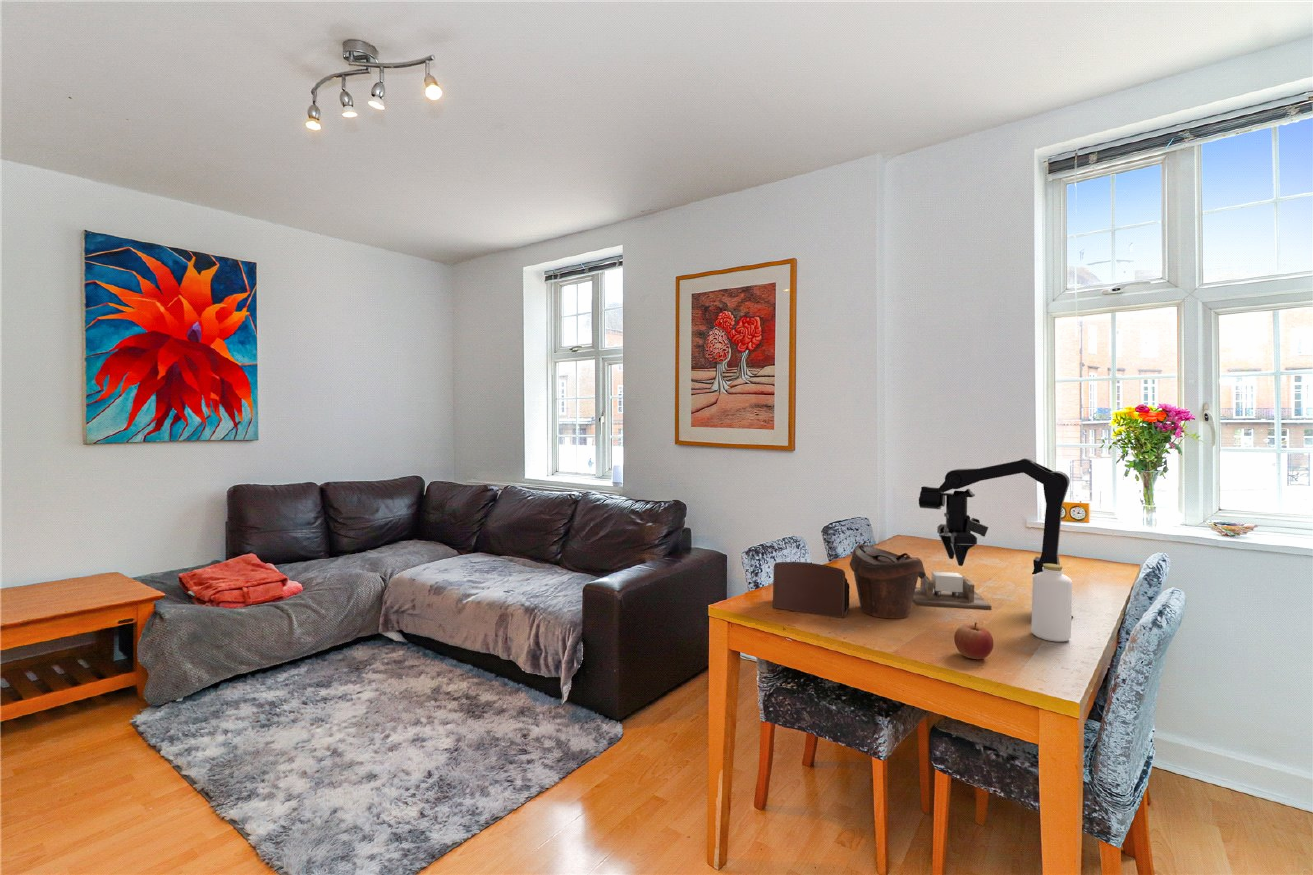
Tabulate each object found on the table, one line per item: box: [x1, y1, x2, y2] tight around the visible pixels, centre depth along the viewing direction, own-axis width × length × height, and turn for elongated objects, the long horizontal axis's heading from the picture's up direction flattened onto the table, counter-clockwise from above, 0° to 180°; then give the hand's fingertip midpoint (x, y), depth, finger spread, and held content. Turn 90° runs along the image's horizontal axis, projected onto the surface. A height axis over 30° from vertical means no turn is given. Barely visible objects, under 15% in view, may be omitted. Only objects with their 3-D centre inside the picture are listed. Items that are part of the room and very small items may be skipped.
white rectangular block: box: [931, 571, 963, 592], centre depth 184 cm, size 8×5×4 cm, turn 79°
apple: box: [953, 622, 994, 660], centre depth 139 cm, size 8×8×8 cm
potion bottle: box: [1031, 564, 1073, 643], centre depth 152 cm, size 8×8×18 cm
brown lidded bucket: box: [849, 543, 927, 620], centre depth 171 cm, size 18×20×18 cm
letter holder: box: [772, 561, 851, 619], centre depth 174 cm, size 10×20×14 cm, turn 65°
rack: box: [912, 575, 992, 610], centre depth 184 cm, size 16×20×6 cm
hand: (955, 562), depth 185 cm, fingers open, 9 cm apart
